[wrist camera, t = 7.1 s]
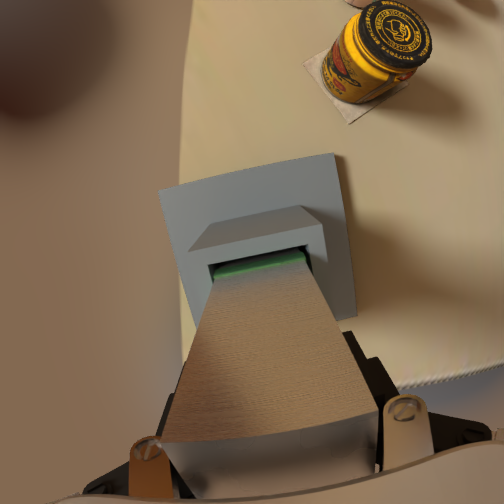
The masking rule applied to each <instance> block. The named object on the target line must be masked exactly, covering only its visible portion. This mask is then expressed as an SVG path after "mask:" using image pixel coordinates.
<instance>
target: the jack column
mask: <svg viewBox="0 0 504 504" xmlns="http://www.w3.org/2000/svg"><path fill="white" fill-rule="evenodd" d="M213 277H214V283H213V285H212V288H211V291H210V294H209V297H208V300H207V302H206V305H205V308H204V311H203V314H202V317H201V320H200V322H199V325H198V328H197V331H196V334H195V337H194V340H193V343H192V346H191V348H190V351H189V354H188V357H187V360H186V363H185V366H184V369H183V372H182V375H181V378H180V381H179V384H178V387H177V390H176V393H175V396H174V399H173V402H172V405H171V408H170V411H169V414H168V417H167V421H166V424H165V427H164V430H163V433H162V436H161V439H160V442H159V443H160V444H161V446H162V448H163V449H164V451H165V453H166V454H167V456H168V457H169V459H170V460H171V462H172V464H173V465H174V467H175V468H176V470H177V471H178V473H179V474H180V476H181V477H182V479H183V480H184V481H185V483H186V484H187V486H188V487H189V489H190V490H191V491H192V493H193V494H194V496H195V497H196V498H197V499H222V498H241V497H253V496H263V495H272V494H280V493H287V492H294V491H300V490H306V489H312V488H317V487H322V486H327V485H332V484H336V483H341V482H345V481H349V480H353V479H357V478H361V477H365V476H368V475H372V474H374V472H375V462H376V450H377V435H378V414H379V409H378V407H377V405H376V403H375V401H374V399H373V396H372V394H371V392H370V390H369V388H368V386H367V384H366V382H365V379H364V377H363V375H362V373H361V371H360V369H359V367H358V365H357V363H356V361H355V359H354V357H353V354H352V352H351V350H350V348H349V346H348V344H347V342H346V340H345V338H344V336H343V334H342V332H341V330H340V328H339V326H338V324H337V322H336V320H335V318H334V316H333V314H332V312H331V310H330V308H329V306H328V304H327V302H326V300H325V298H324V296H323V294H322V293H321V291H320V289H319V287H318V285H317V283H316V281H315V279H314V277H313V275H312V273H311V271H310V269H309V268H308V266H307V262H306V257H305V255H304V253H303V252H300V251H299V249H298V247H297V246H296V247H291V248H286V249H281V250H277V251H272V252H267V253H262V254H257V255H253V256H248V257H243V258H238V259H233V260H228V261H224V262H221V263H220V266H219V269H216V270H215V273H214V275H213Z"/></svg>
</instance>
